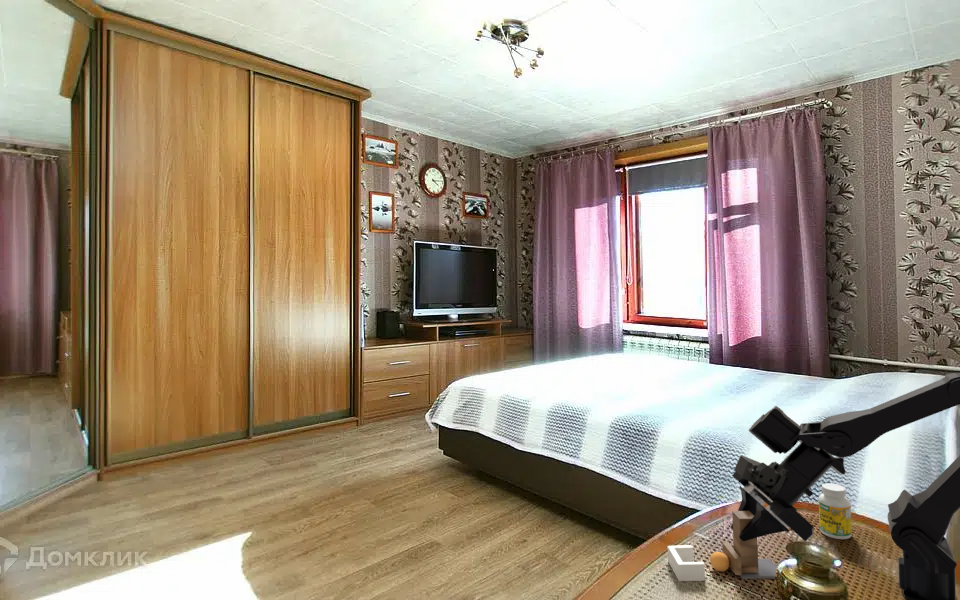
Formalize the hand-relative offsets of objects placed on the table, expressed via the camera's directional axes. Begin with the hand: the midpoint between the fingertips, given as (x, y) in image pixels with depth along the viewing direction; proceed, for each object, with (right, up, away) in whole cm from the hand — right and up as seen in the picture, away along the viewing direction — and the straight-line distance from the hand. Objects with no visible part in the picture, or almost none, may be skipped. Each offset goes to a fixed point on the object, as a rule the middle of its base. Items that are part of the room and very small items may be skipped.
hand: (736, 534), depth 93 cm
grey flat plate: (+4, -6, 0) cm, 7 cm away
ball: (-3, -5, 0) cm, 6 cm away
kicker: (+1, -6, 0) cm, 6 cm away
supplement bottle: (+26, -5, +11) cm, 28 cm away
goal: (-9, -7, +1) cm, 11 cm away
